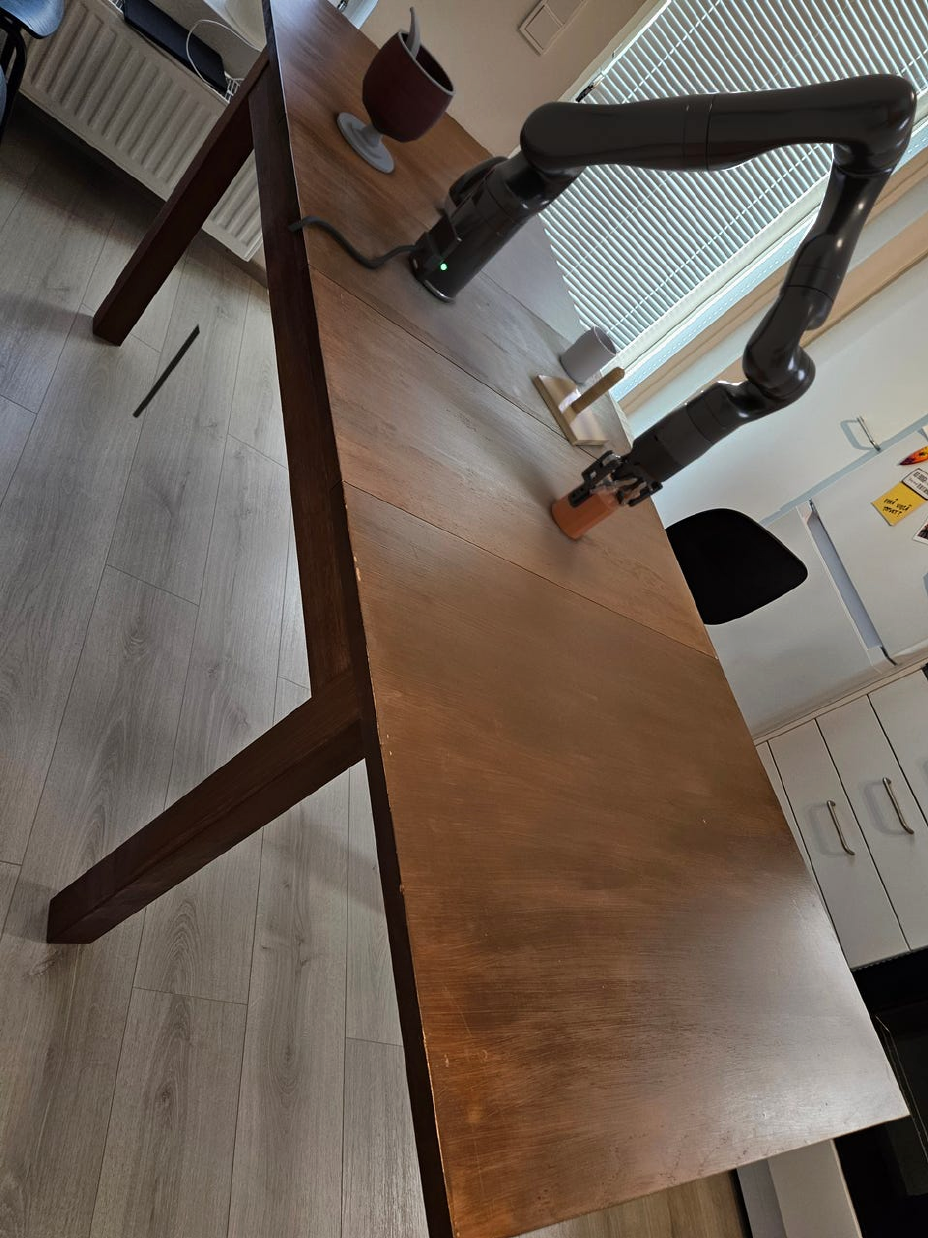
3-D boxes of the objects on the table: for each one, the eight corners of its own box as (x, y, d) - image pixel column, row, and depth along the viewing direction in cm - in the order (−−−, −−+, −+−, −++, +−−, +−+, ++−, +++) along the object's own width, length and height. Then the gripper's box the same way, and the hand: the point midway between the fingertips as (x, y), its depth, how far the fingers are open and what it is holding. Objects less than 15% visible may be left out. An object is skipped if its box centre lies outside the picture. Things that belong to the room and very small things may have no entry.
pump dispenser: (474, 252, 155) (531, 192, 147) (434, 214, 150) (491, 149, 142) (475, 231, 162) (530, 172, 154) (437, 193, 157) (491, 130, 149)
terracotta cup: (560, 533, 121) (601, 504, 116) (546, 499, 123) (586, 469, 119) (584, 542, 125) (624, 514, 121) (570, 509, 128) (610, 480, 124)
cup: (562, 371, 158) (597, 341, 153) (555, 340, 164) (588, 310, 159) (585, 390, 162) (620, 361, 157) (577, 360, 168) (610, 331, 163)
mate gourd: (407, 183, 148) (482, 93, 137) (360, 165, 136) (438, 64, 125) (364, 117, 149) (435, 22, 138) (315, 93, 138) (388, -12, 127)
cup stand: (571, 444, 142) (628, 399, 135) (532, 380, 144) (586, 332, 137) (603, 445, 153) (657, 403, 146) (566, 385, 155) (618, 341, 148)
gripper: (687, 437, 120) (601, 499, 129) (638, 406, 109) (547, 476, 119) (707, 477, 117) (617, 537, 126) (658, 449, 106) (564, 517, 116)
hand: (584, 507), depth 122 cm, fingers closed on terracotta cup, 6 cm apart
